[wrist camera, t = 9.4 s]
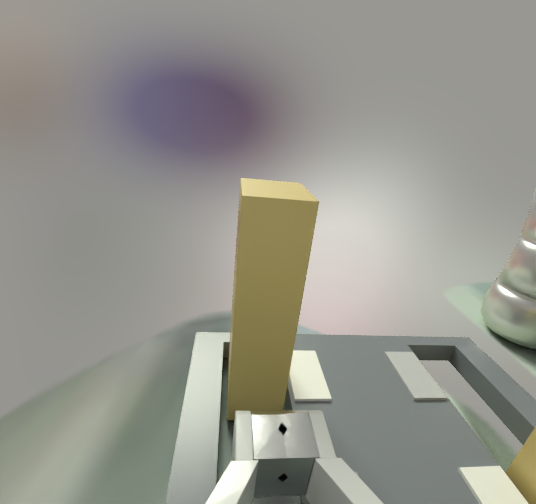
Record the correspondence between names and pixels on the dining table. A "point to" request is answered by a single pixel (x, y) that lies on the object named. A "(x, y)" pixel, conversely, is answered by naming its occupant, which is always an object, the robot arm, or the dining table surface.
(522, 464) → the yellow rectangular block
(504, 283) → the plastic bottle
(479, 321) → the dining table surface
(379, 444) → the switch bank
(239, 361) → the yellow bar
